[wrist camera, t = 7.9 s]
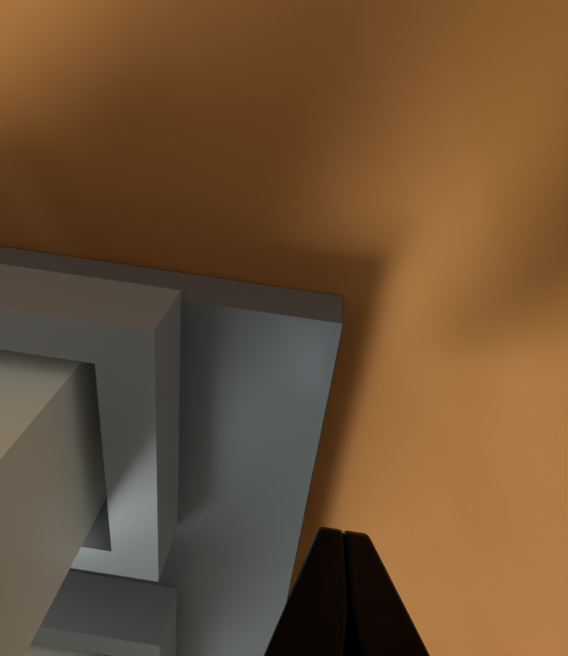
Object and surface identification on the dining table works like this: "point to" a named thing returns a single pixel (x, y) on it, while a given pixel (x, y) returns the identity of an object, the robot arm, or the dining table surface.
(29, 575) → the tab
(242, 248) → the dining table surface
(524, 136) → the dining table surface
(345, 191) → the dining table surface
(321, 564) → the robot arm
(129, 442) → the switch board
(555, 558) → the dining table surface
